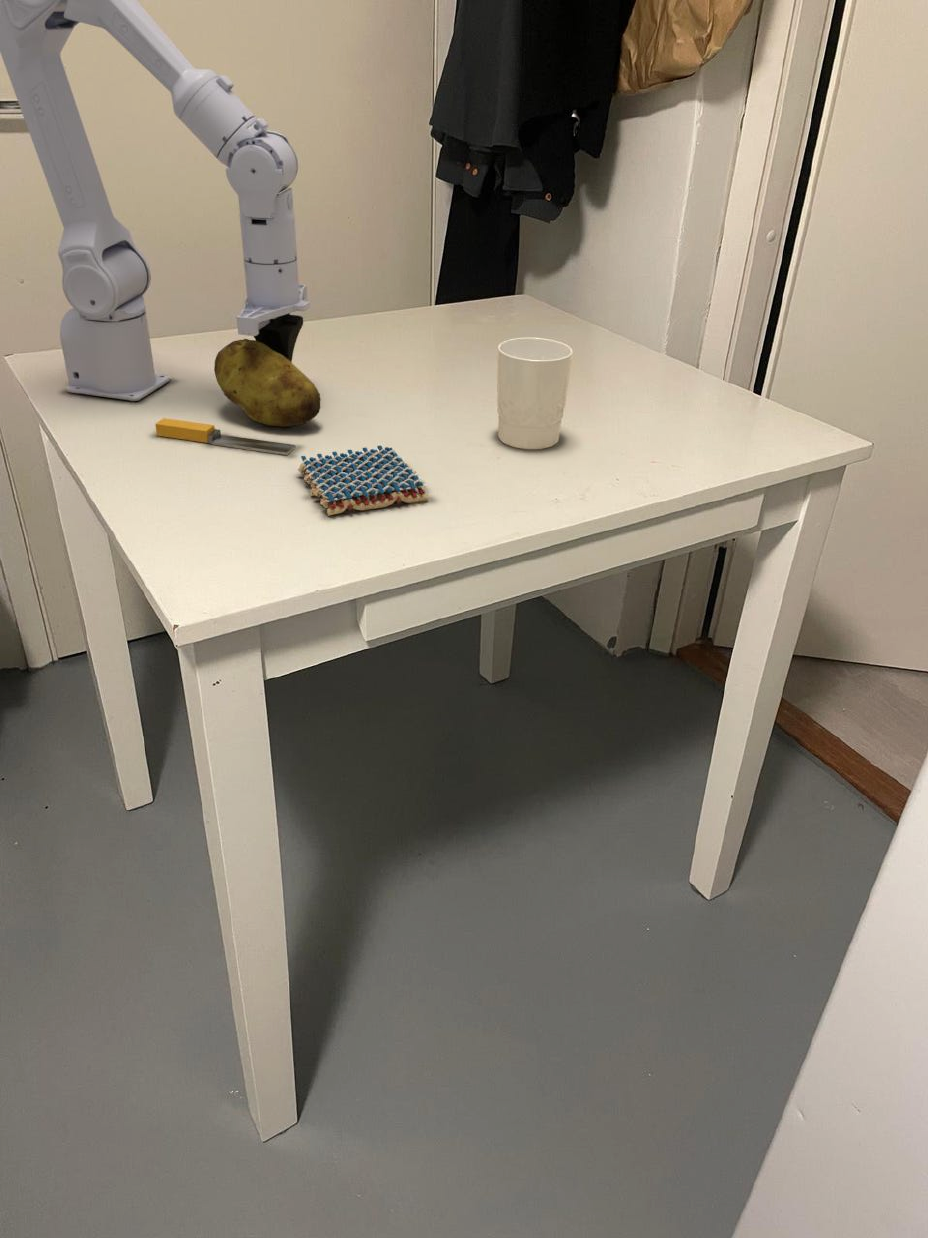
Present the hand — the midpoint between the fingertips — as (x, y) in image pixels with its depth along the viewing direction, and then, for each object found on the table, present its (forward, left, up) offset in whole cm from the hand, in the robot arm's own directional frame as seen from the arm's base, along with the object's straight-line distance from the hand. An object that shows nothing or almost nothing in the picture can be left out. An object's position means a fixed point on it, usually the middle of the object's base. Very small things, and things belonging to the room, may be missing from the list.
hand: (279, 380), depth 111 cm
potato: (+1, -5, -3) cm, 6 cm away
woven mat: (+17, -19, -3) cm, 26 cm away
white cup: (+30, -1, -3) cm, 30 cm away
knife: (-1, -13, -3) cm, 13 cm away
